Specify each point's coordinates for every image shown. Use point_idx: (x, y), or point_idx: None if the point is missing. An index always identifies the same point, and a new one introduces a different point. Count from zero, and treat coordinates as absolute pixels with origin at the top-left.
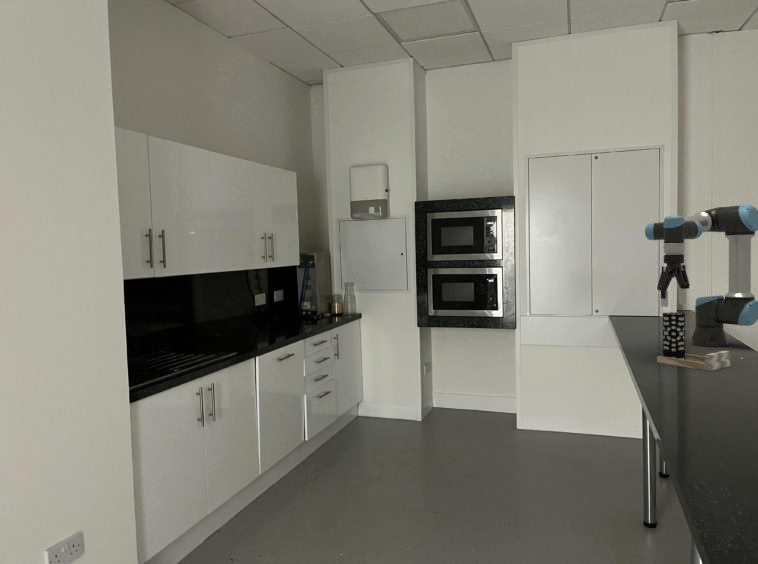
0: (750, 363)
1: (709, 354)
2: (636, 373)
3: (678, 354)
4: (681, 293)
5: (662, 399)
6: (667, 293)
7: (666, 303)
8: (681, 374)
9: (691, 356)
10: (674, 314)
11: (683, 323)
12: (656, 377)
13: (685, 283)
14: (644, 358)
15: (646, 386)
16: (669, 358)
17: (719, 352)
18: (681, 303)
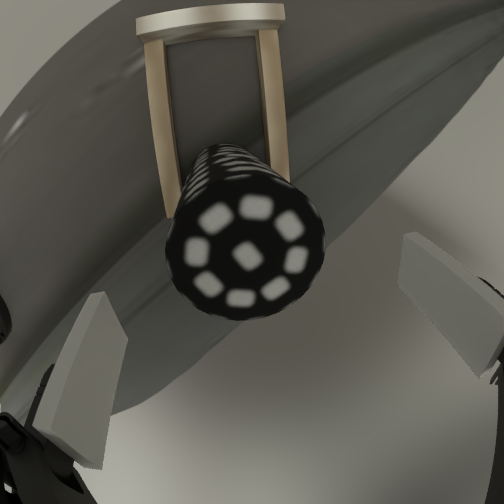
0: (61, 49)
1: (265, 13)
2: (434, 138)
3: (246, 150)
4: (93, 406)
5: (501, 28)
6: (497, 298)
7: (432, 251)
8: (372, 53)
9: (174, 148)
10: (301, 210)
11: (232, 163)
12: (434, 84)
13: (27, 498)
14: None
15: (483, 69)
16: (287, 153)
17: (194, 16)
18: (117, 325)
